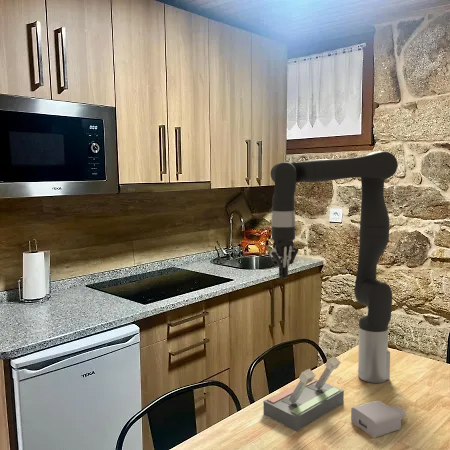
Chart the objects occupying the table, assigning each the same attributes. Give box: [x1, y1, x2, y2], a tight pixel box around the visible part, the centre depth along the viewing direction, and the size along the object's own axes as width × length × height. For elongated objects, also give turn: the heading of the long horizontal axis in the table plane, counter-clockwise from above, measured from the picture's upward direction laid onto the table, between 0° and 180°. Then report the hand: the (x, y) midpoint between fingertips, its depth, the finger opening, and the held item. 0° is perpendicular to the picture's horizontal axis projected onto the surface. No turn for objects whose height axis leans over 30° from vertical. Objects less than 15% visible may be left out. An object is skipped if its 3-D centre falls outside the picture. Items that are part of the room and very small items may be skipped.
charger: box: [350, 400, 408, 439], centre depth 120 cm, size 5×9×15 cm
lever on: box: [315, 356, 341, 389], centre depth 129 cm, size 2×3×11 cm
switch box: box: [263, 378, 345, 432], centre depth 128 cm, size 12×22×4 cm, turn 132°
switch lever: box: [289, 368, 316, 403], centre depth 121 cm, size 2×3×11 cm
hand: (283, 278), depth 142 cm, fingers closed
